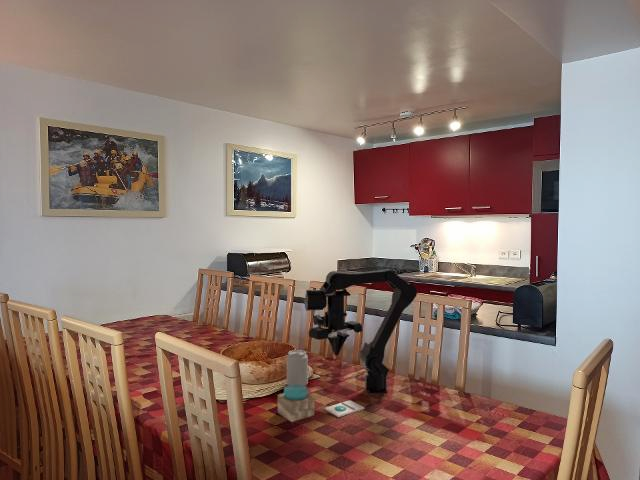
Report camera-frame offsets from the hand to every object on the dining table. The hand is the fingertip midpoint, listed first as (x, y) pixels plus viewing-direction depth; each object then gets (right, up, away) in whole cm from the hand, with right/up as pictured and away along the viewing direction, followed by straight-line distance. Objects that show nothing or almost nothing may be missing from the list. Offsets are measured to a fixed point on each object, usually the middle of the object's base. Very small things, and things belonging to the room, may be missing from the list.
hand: (336, 355), depth 153 cm
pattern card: (+2, -14, -12) cm, 18 cm away
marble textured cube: (-13, -14, -15) cm, 24 cm away
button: (-13, -11, -16) cm, 23 cm away
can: (-14, -13, +9) cm, 21 cm away
